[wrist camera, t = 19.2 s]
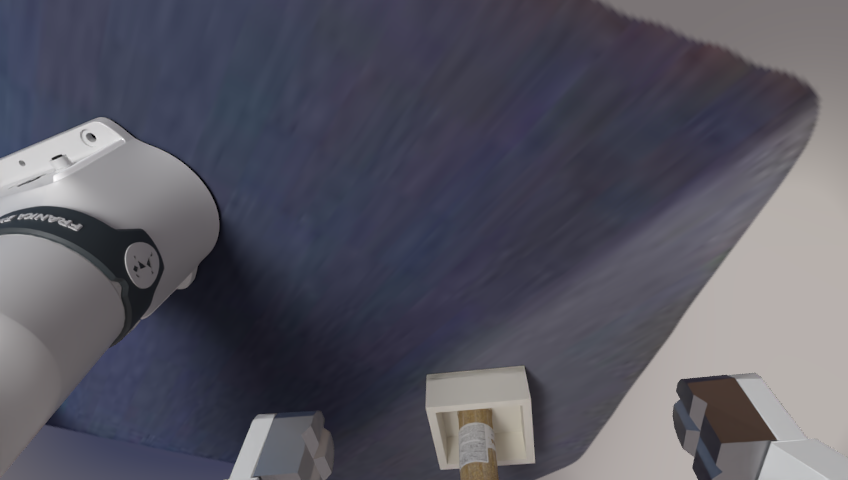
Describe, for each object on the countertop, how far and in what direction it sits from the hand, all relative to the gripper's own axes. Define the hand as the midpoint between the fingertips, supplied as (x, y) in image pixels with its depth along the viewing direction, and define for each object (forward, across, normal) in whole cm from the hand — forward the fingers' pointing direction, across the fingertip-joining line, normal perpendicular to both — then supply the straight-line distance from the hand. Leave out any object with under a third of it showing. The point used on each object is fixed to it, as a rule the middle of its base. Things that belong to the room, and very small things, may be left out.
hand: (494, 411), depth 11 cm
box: (+34, +2, +41) cm, 53 cm away
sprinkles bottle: (+33, +3, +41) cm, 53 cm away
